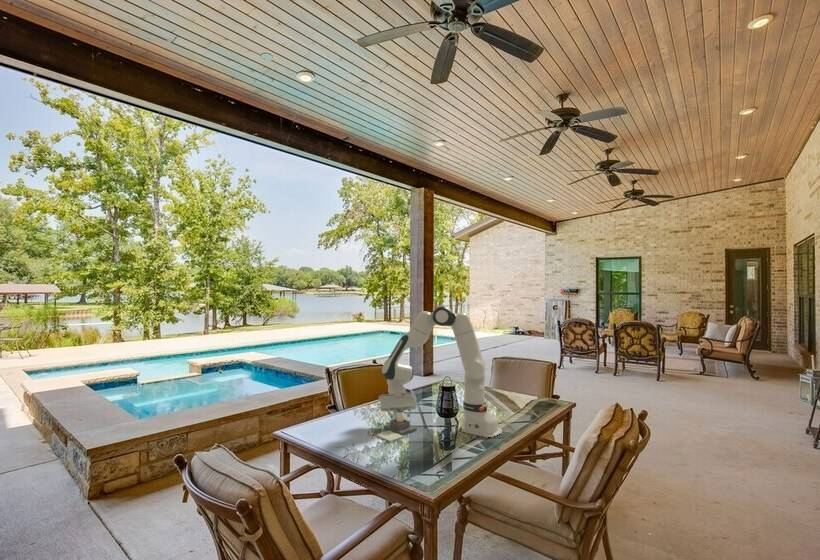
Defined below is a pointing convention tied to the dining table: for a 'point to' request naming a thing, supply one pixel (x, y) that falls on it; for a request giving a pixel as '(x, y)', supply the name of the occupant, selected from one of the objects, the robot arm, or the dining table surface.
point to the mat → (389, 436)
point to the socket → (400, 427)
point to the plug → (400, 416)
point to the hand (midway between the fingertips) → (400, 417)
